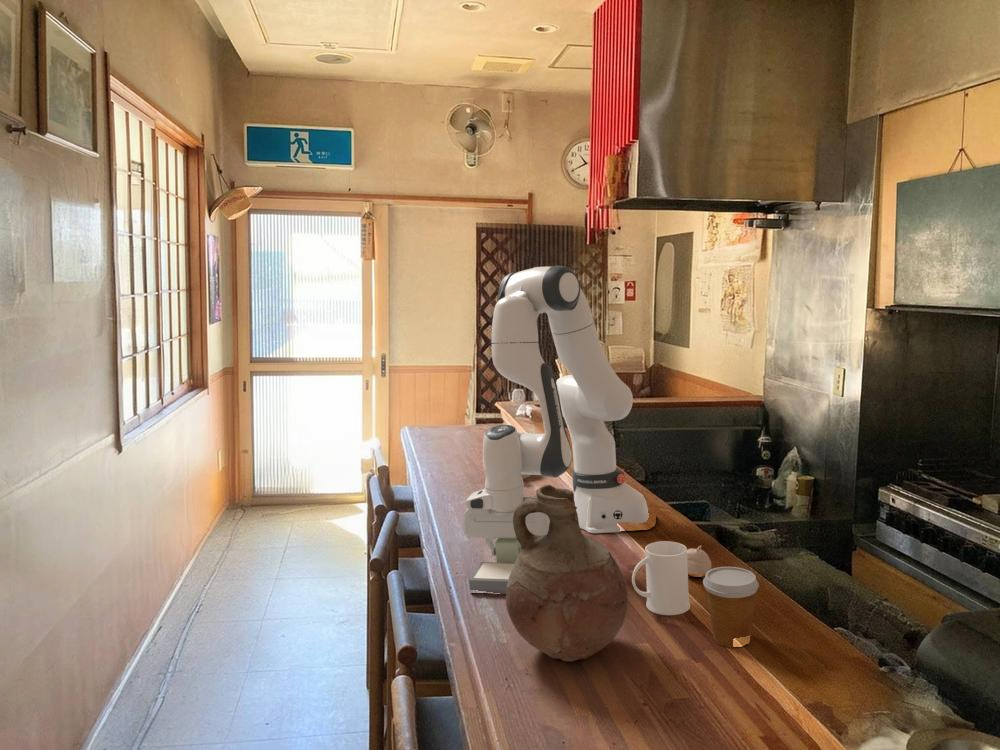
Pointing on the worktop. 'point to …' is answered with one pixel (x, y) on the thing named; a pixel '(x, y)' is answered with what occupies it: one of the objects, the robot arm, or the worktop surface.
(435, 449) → the worktop surface
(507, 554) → the green block
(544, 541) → the jug
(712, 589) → the disposable coffee cup
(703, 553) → the garlic bulb
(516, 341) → the robot arm
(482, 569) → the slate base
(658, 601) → the mug
